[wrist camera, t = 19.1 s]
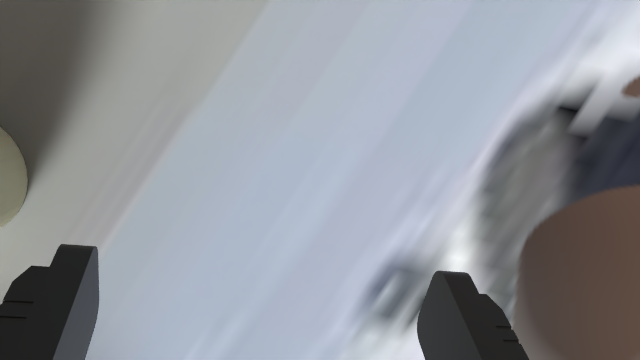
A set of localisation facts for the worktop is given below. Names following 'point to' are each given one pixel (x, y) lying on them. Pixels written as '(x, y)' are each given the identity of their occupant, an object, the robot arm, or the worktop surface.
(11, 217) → the reusable coffee cup
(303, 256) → the worktop surface
